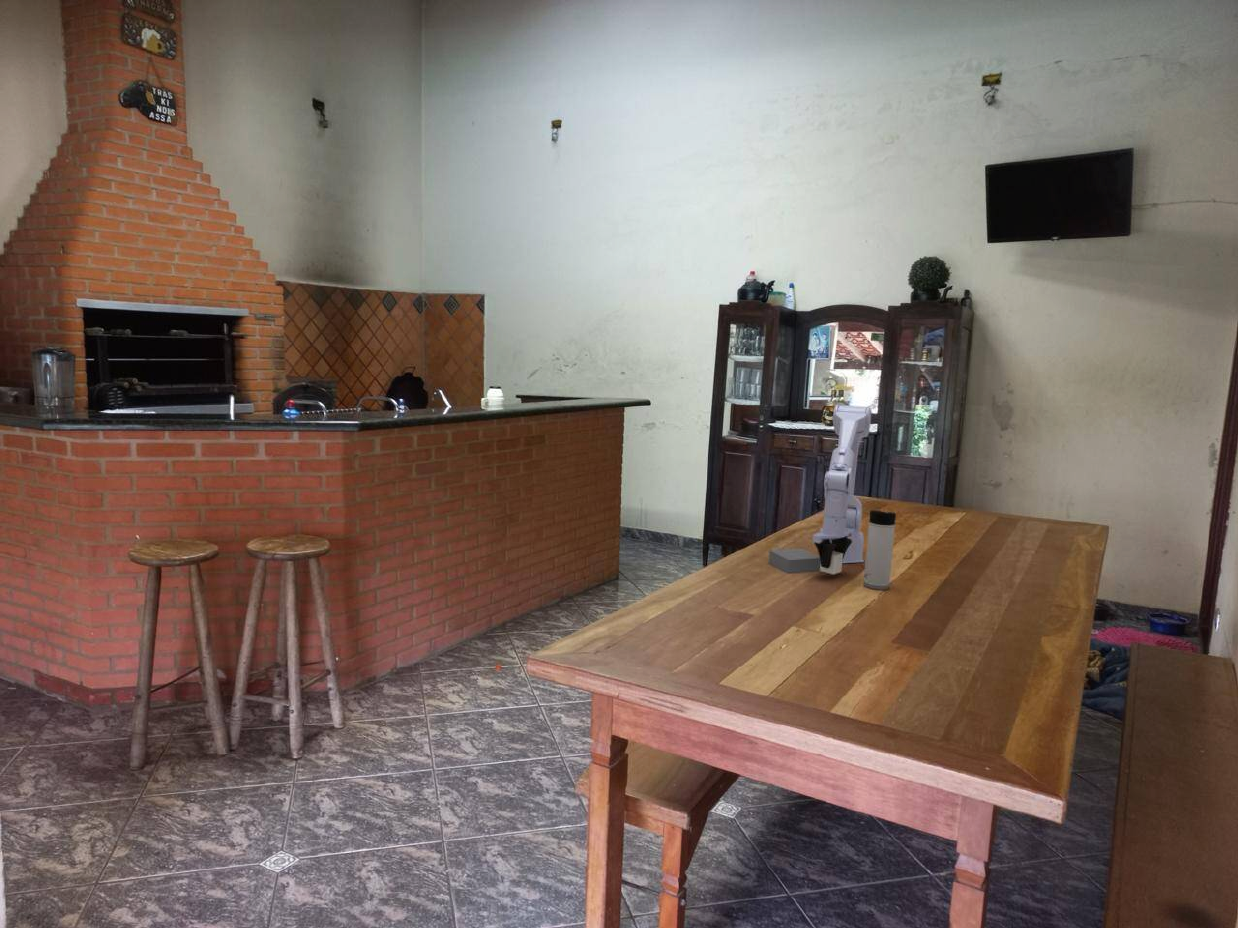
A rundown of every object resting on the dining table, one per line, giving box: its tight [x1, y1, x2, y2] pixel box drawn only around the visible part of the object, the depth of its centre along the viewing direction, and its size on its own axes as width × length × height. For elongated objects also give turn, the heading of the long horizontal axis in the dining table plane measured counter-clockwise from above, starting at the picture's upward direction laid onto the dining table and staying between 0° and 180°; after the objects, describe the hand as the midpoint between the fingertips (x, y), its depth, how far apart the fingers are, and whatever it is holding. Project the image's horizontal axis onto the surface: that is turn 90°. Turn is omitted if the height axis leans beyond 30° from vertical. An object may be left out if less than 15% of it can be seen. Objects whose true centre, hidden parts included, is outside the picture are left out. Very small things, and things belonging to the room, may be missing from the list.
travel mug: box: [863, 509, 897, 591], centre depth 196 cm, size 6×7×20 cm
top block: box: [819, 551, 843, 575], centre depth 204 cm, size 4×4×5 cm
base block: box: [768, 547, 821, 574], centre depth 212 cm, size 10×10×4 cm
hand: (831, 565), depth 204 cm, fingers closed on top block, 4 cm apart
